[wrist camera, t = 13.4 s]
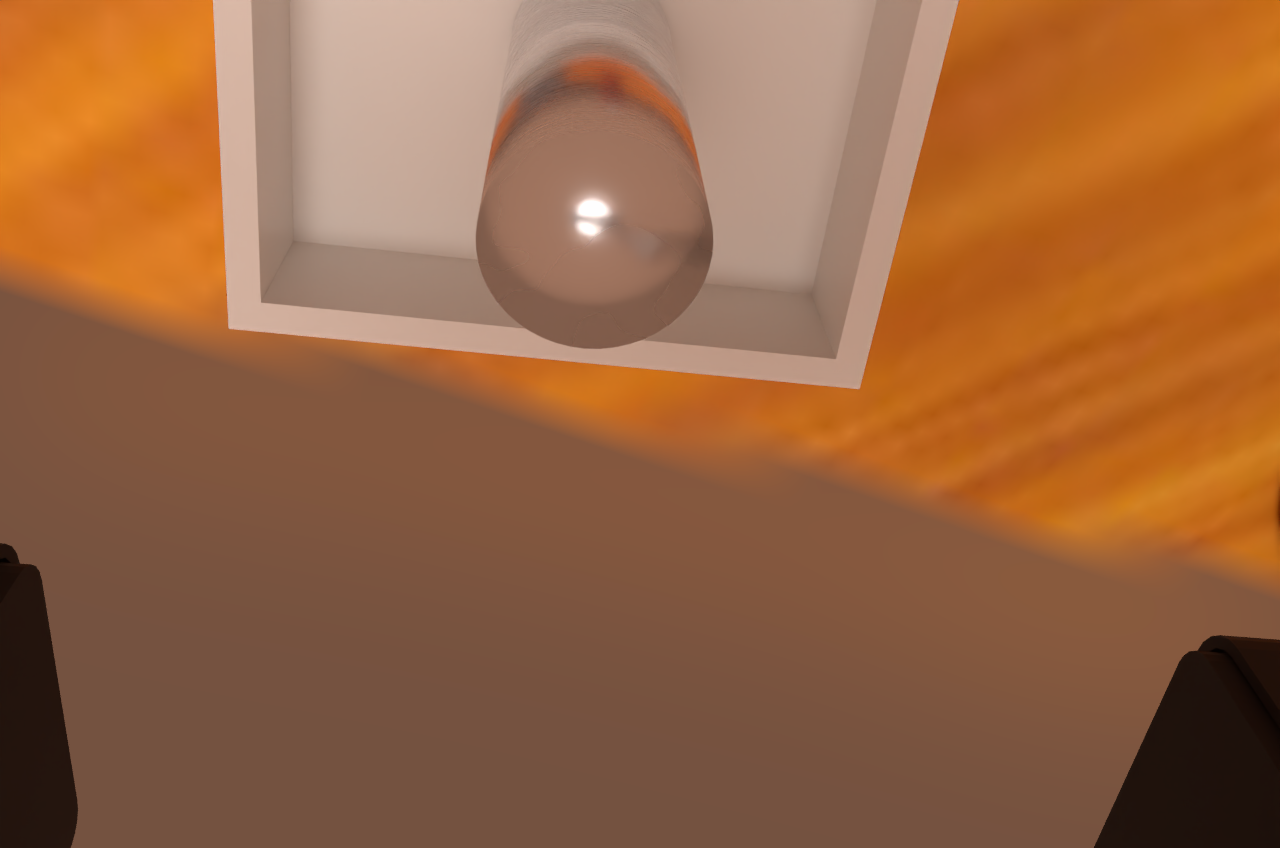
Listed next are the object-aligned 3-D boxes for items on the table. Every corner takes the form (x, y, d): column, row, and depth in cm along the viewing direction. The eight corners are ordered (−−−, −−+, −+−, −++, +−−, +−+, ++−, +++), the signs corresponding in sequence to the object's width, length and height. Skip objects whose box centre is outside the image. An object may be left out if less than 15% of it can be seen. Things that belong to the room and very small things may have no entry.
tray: (954, -227, 28) (1013, -214, 24) (829, 313, 35) (859, 388, 32) (252, -331, 27) (197, -335, 23) (268, 256, 34) (228, 328, 30)
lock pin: (680, -29, 30) (728, 141, 20) (661, 130, 32) (697, 356, 22) (515, -45, 29) (479, 119, 19) (507, 116, 31) (471, 340, 21)
